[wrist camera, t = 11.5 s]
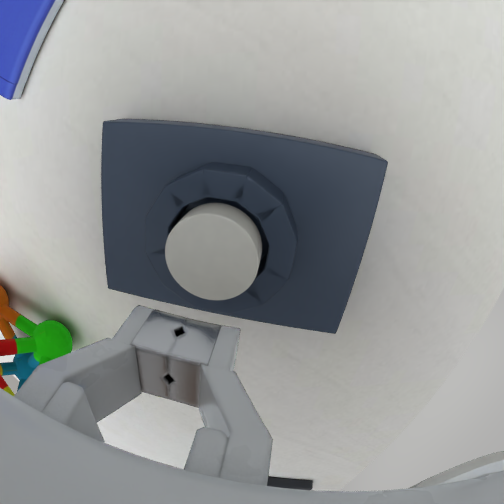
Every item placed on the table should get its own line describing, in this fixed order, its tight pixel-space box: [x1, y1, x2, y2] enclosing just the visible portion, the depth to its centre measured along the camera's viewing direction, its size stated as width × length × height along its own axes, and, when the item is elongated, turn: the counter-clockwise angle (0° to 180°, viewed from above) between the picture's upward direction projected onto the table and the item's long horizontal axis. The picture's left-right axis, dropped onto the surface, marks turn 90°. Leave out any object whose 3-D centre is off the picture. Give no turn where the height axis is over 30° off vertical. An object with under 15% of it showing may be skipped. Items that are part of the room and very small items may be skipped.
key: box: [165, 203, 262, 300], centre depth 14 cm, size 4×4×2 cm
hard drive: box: [0, 0, 64, 100], centre depth 12 cm, size 2×8×12 cm
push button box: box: [101, 119, 388, 334], centre depth 16 cm, size 14×10×4 cm
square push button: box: [267, 477, 313, 490], centre depth 32 cm, size 10×10×3 cm
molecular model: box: [0, 285, 72, 396], centre depth 19 cm, size 15×12×15 cm
